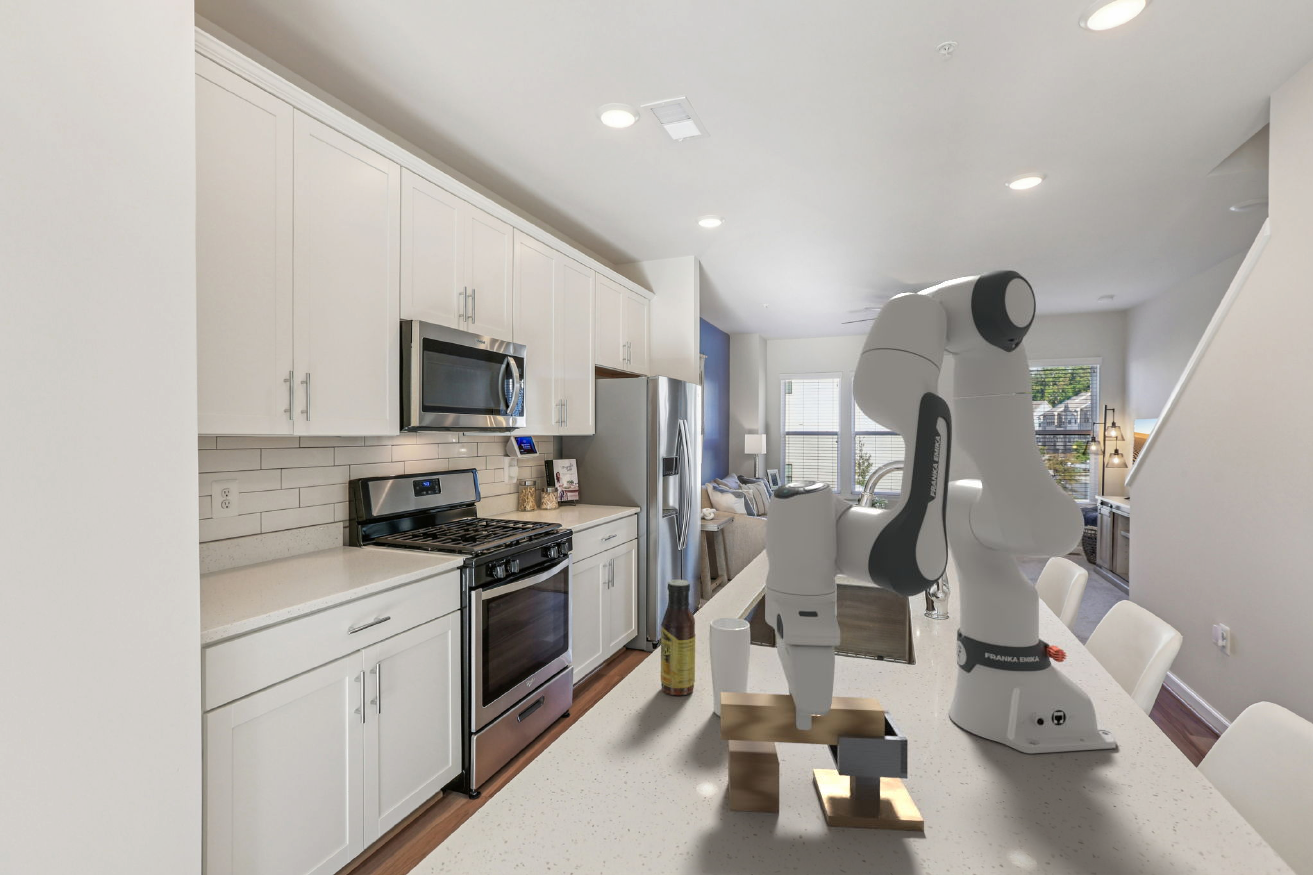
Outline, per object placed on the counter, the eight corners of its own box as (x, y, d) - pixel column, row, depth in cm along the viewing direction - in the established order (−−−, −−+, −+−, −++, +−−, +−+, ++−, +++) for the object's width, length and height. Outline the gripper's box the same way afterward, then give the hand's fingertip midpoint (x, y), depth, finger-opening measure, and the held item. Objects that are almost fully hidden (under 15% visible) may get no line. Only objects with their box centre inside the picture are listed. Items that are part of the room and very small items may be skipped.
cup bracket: (896, 781, 80) (896, 707, 80) (924, 830, 70) (924, 745, 70) (813, 777, 81) (813, 703, 81) (828, 825, 71) (828, 741, 71)
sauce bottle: (659, 683, 111) (659, 577, 111) (692, 682, 112) (692, 576, 112) (662, 699, 105) (662, 586, 104) (697, 697, 105) (697, 585, 105)
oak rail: (721, 739, 75) (721, 703, 75) (720, 726, 78) (720, 692, 78) (884, 747, 73) (884, 710, 73) (876, 733, 77) (876, 698, 77)
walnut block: (773, 784, 79) (773, 739, 79) (779, 812, 73) (779, 764, 73) (728, 781, 80) (728, 737, 79) (730, 810, 74) (730, 761, 74)
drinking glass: (749, 724, 95) (749, 631, 95) (707, 720, 97) (707, 628, 97) (751, 705, 102) (751, 618, 102) (711, 702, 103) (711, 615, 103)
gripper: (766, 587, 86) (766, 682, 86) (785, 634, 66) (785, 759, 66) (811, 588, 86) (810, 684, 86) (844, 636, 65) (843, 762, 65)
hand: (799, 717), depth 76 cm, fingers closed on oak rail, 3 cm apart
